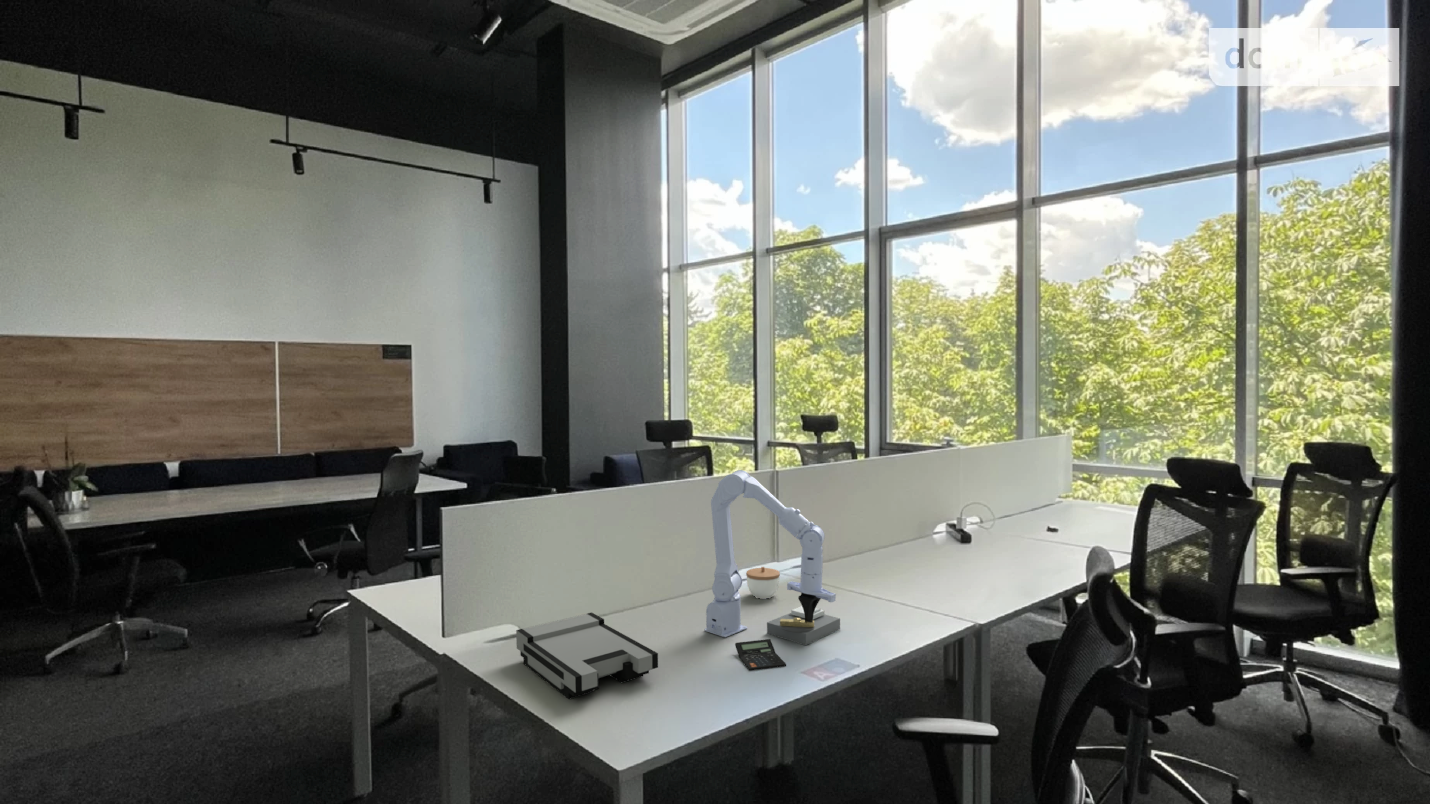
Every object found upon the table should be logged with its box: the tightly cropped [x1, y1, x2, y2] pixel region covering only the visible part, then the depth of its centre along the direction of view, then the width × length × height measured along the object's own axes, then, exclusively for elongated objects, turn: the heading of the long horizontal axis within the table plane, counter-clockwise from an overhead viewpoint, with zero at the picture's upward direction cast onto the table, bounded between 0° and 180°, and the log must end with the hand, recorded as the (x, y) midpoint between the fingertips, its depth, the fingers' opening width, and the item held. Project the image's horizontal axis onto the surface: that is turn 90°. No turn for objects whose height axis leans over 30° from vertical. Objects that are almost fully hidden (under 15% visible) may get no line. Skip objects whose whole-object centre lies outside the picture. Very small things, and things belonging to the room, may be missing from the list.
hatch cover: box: [790, 605, 825, 619], centre depth 196 cm, size 6×7×2 cm
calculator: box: [734, 638, 787, 672], centre depth 173 cm, size 9×12×3 cm
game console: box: [515, 612, 659, 700], centre depth 166 cm, size 21×32×8 cm, turn 38°
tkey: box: [780, 617, 814, 627], centre depth 187 cm, size 9×2×2 cm, turn 80°
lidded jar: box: [745, 566, 781, 600], centre depth 224 cm, size 11×11×9 cm
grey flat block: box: [766, 612, 841, 646], centre depth 191 cm, size 18×13×3 cm
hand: (809, 621), depth 187 cm, fingers closed, pressing on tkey
